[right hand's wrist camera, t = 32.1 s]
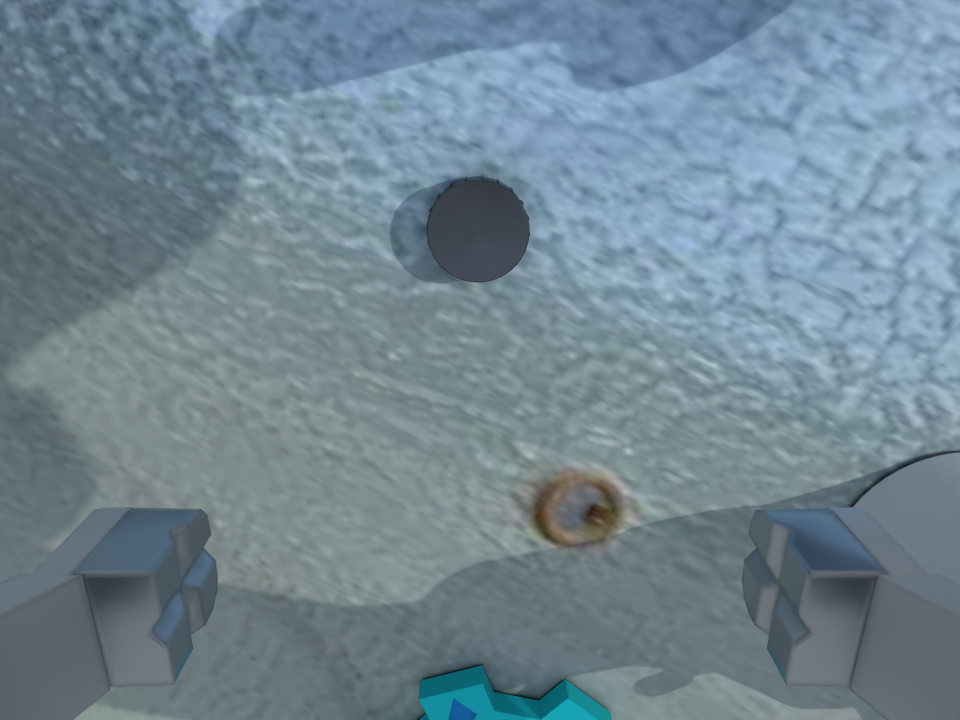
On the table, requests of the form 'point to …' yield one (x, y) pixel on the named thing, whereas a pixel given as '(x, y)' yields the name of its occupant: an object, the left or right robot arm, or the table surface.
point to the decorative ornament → (501, 701)
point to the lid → (478, 229)
